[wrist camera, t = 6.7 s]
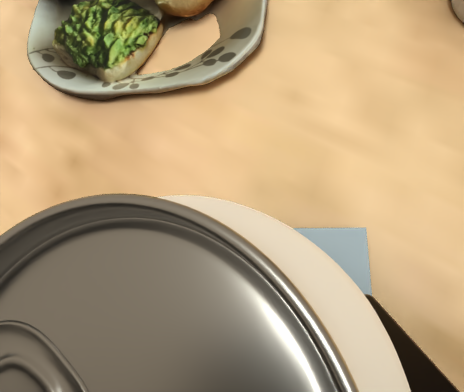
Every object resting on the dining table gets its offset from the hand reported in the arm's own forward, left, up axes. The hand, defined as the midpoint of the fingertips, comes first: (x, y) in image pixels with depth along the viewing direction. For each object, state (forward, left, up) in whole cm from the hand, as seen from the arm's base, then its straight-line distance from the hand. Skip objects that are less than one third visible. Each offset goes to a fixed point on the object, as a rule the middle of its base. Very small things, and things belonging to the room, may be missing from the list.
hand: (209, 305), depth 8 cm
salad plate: (+23, +2, -12) cm, 26 cm away
